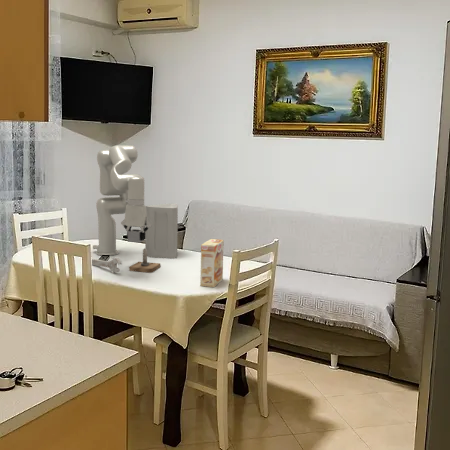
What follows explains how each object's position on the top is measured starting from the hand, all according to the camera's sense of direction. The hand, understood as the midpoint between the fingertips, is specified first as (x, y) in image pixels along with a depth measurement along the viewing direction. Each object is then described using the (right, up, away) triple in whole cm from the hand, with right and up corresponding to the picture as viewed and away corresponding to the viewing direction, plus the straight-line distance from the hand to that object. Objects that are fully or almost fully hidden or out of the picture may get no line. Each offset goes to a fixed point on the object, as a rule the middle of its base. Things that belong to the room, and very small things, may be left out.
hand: (136, 239), depth 284 cm
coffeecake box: (+36, -21, -7) cm, 42 cm away
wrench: (-18, -16, +13) cm, 27 cm away
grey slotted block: (0, -1, 0) cm, 1 cm away
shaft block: (+2, -16, +15) cm, 22 cm away
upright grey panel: (+10, -11, +45) cm, 47 cm away
